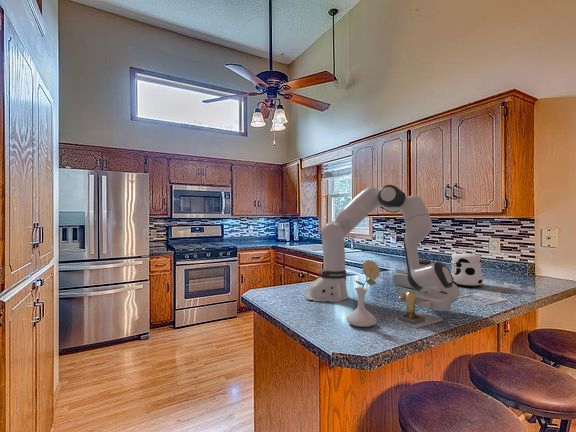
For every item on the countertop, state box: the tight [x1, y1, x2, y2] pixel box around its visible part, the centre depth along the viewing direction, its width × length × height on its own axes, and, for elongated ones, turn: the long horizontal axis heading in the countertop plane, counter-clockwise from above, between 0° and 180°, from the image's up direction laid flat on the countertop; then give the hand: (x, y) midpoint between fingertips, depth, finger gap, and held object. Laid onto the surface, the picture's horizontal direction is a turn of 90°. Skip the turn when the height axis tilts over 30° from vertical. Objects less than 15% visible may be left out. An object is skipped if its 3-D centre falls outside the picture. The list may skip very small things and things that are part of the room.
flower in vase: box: [345, 259, 381, 328], centre depth 119 cm, size 13×11×25 cm
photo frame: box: [457, 292, 508, 306], centre depth 153 cm, size 15×1×18 cm
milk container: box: [450, 253, 484, 288], centre depth 184 cm, size 17×17×18 cm
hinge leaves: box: [394, 311, 443, 329], centre depth 123 cm, size 16×10×2 cm, turn 120°
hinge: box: [392, 271, 418, 291], centre depth 181 cm, size 17×5×10 cm, turn 33°
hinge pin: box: [405, 291, 416, 320], centre depth 121 cm, size 3×3×11 cm
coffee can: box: [418, 258, 432, 267], centre depth 191 cm, size 10×10×14 cm
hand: (409, 302), depth 120 cm, fingers open, 8 cm apart
